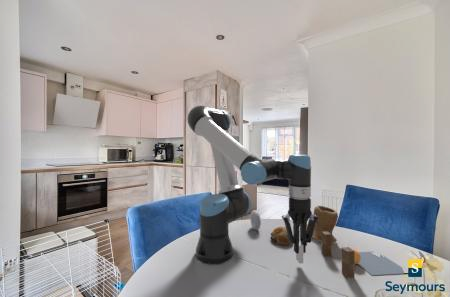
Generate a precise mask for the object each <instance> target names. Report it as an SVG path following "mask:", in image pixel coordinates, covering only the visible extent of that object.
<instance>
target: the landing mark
mask: <svg viewBox="0 0 450 297" xmlns="http://www.w3.org/2000/svg"><path fill="white" fill-rule="evenodd" d="M358 252H359V254H360V257H361V260H360V262H359V263H358V264H357V265H358V266H360V267H361V268H362V269H363V270H364V271H366V272H367V273H368V274H369V275H370V276H374V277H375V276H389V275H405V274H404V271H403V269H402V268H403V267H402V266H400V265H399V264H397V263H396V262H394V261H393V260H391V259H389V258H388V257H386V256H385V255H383V254H382V255H383V256H384V257H383V256H382V255H380V257H378V256H376V255H374V254H372V253H373V252H374V251H358ZM371 252H372V253H371Z"/></svg>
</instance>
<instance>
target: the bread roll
mask: <svg viewBox="0 0 450 297" xmlns="http://www.w3.org/2000/svg"><path fill="white" fill-rule="evenodd" d="M270 240H271V241H272V242H274V243H276V245H280V246H290V245H293V244H292V243H291V242H290V241H289V239H288V234H287V230H286V226H278V227H275V228H274V229H273V231H272V232H270Z"/></svg>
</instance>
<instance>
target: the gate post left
mask: <svg viewBox="0 0 450 297" xmlns="http://www.w3.org/2000/svg"><path fill="white" fill-rule="evenodd" d="M332 235H333V233H332V234H331V233H329V232H328V231H327V232H322V242H321V255H322V256H324V258H332V256H333V255H332V254H333V253H332V244H333V243H332Z"/></svg>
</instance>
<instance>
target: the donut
mask: <svg viewBox="0 0 450 297" xmlns="http://www.w3.org/2000/svg"><path fill="white" fill-rule="evenodd" d="M261 224H262V221H261V216H260V213H259V212H258V211H257V210H256V209H253V210H251V212H250V225H251V227H252V228H253V230H254V231H258V230H260V228H261Z"/></svg>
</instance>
